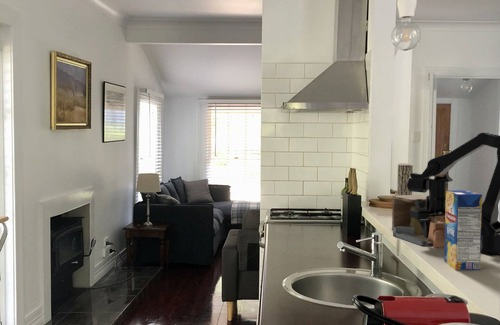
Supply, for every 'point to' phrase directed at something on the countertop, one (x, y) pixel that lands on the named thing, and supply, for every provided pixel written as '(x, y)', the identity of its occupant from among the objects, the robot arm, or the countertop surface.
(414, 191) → the robot arm
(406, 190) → the bark textured block
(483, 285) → the countertop surface
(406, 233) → the grey brown long block
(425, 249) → the countertop surface
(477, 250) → the beverage box
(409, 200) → the spice cubby
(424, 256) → the countertop surface
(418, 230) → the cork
